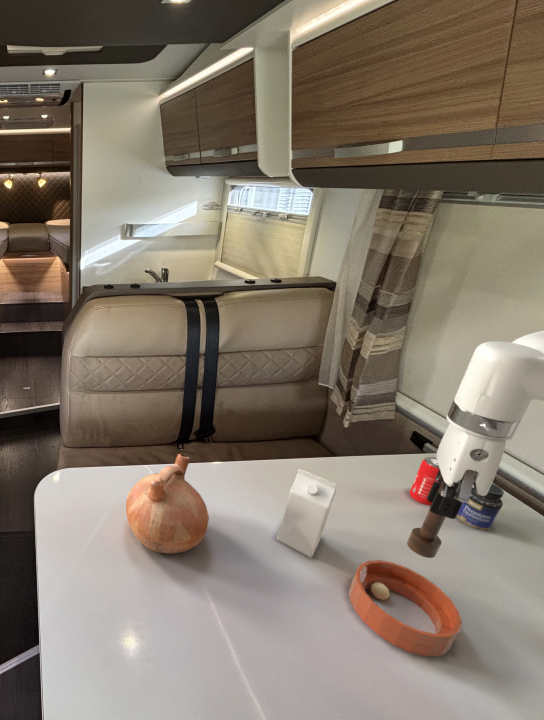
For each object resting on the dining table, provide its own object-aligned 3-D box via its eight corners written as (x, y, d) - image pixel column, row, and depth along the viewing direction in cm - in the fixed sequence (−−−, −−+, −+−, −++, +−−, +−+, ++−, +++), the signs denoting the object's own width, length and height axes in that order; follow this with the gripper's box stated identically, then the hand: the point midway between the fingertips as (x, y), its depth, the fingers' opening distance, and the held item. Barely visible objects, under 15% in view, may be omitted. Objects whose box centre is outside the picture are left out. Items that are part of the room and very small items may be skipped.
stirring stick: (433, 545, 78) (464, 481, 72) (437, 561, 75) (470, 495, 69) (405, 536, 80) (433, 472, 74) (408, 551, 77) (437, 485, 71)
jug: (175, 585, 89) (187, 511, 81) (107, 533, 101) (112, 465, 94) (217, 537, 100) (232, 468, 92) (152, 495, 113) (160, 432, 105)
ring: (440, 605, 84) (451, 584, 82) (457, 677, 72) (471, 655, 70) (347, 568, 92) (354, 548, 90) (349, 628, 80) (358, 607, 78)
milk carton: (285, 524, 103) (303, 461, 96) (319, 541, 98) (340, 476, 91) (275, 541, 99) (293, 476, 91) (310, 560, 94) (332, 493, 87)
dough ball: (386, 594, 86) (390, 583, 85) (387, 606, 83) (392, 595, 82) (367, 586, 87) (372, 576, 86) (368, 598, 85) (373, 587, 84)
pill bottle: (454, 523, 103) (471, 487, 99) (454, 509, 107) (470, 474, 103) (490, 537, 99) (509, 500, 95) (488, 522, 103) (507, 486, 99)
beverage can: (416, 506, 108) (432, 468, 104) (403, 492, 113) (418, 455, 108) (439, 509, 107) (457, 470, 103) (425, 494, 112) (441, 457, 107)
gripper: (534, 454, 59) (481, 551, 66) (500, 403, 71) (458, 490, 78) (461, 436, 62) (418, 530, 69) (440, 391, 75) (406, 474, 82)
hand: (440, 508), depth 74 cm, fingers closed on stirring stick, 2 cm apart
